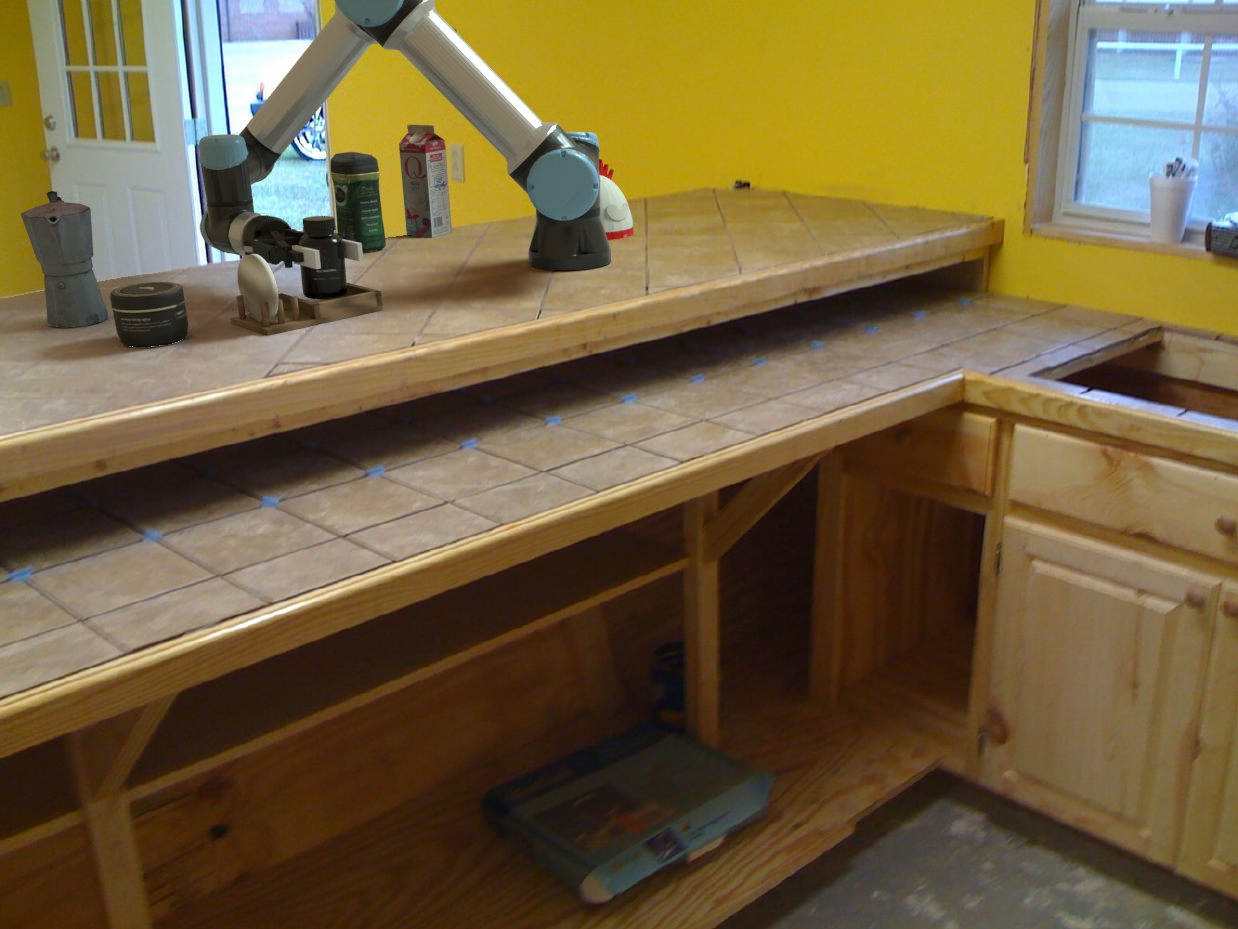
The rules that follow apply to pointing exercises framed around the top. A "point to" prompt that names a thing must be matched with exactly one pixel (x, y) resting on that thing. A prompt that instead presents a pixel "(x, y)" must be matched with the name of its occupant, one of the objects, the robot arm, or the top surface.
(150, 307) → the jar
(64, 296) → the moka pot
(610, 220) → the kitchen timer
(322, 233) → the supplement bottle
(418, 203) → the juice carton
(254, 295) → the dish rack
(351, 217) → the coffee jar
